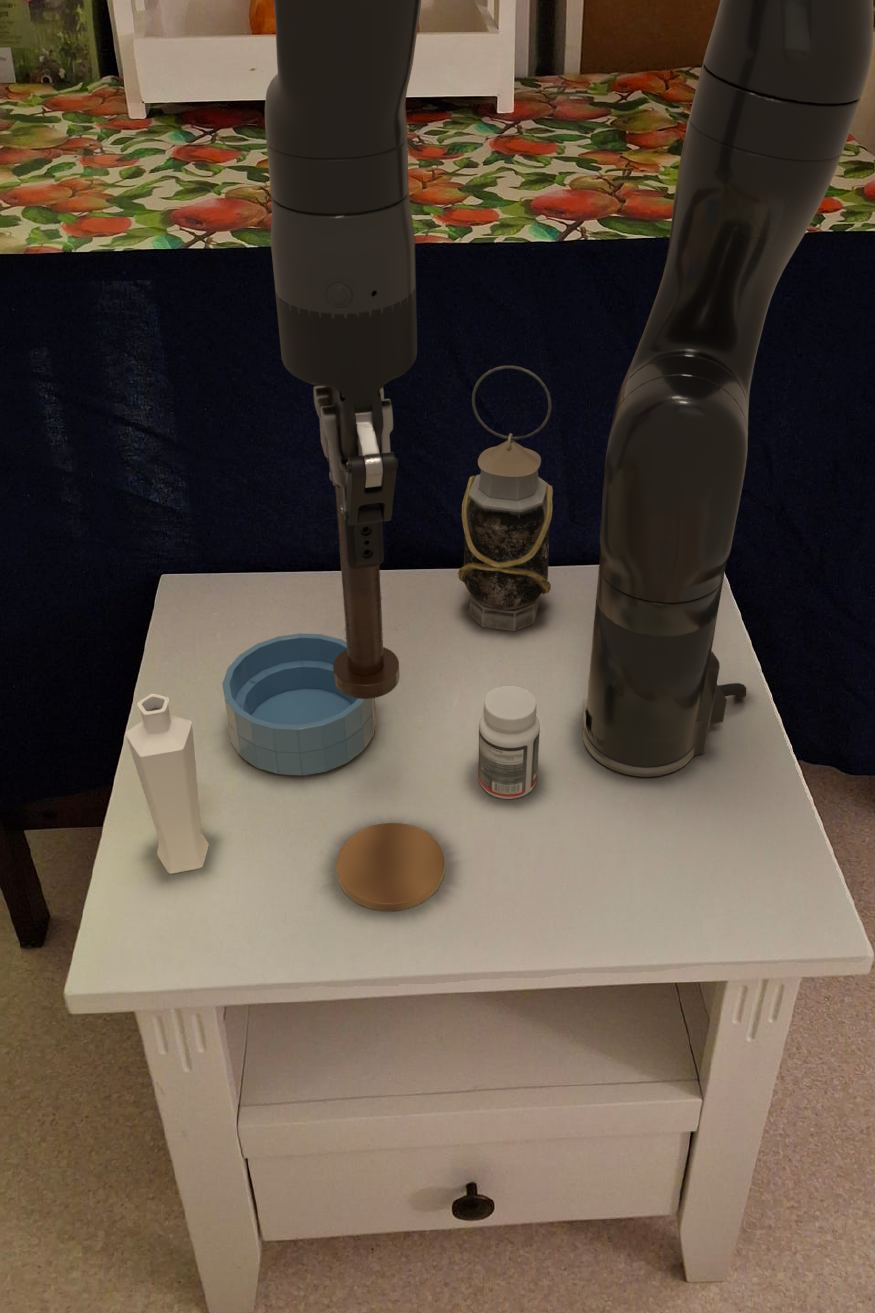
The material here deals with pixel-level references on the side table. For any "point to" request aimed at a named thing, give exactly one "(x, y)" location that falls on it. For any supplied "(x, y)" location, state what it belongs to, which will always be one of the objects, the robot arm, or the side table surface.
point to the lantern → (506, 531)
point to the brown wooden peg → (362, 631)
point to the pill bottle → (508, 742)
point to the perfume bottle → (169, 783)
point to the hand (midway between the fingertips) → (361, 549)
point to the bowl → (294, 707)
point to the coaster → (390, 866)
